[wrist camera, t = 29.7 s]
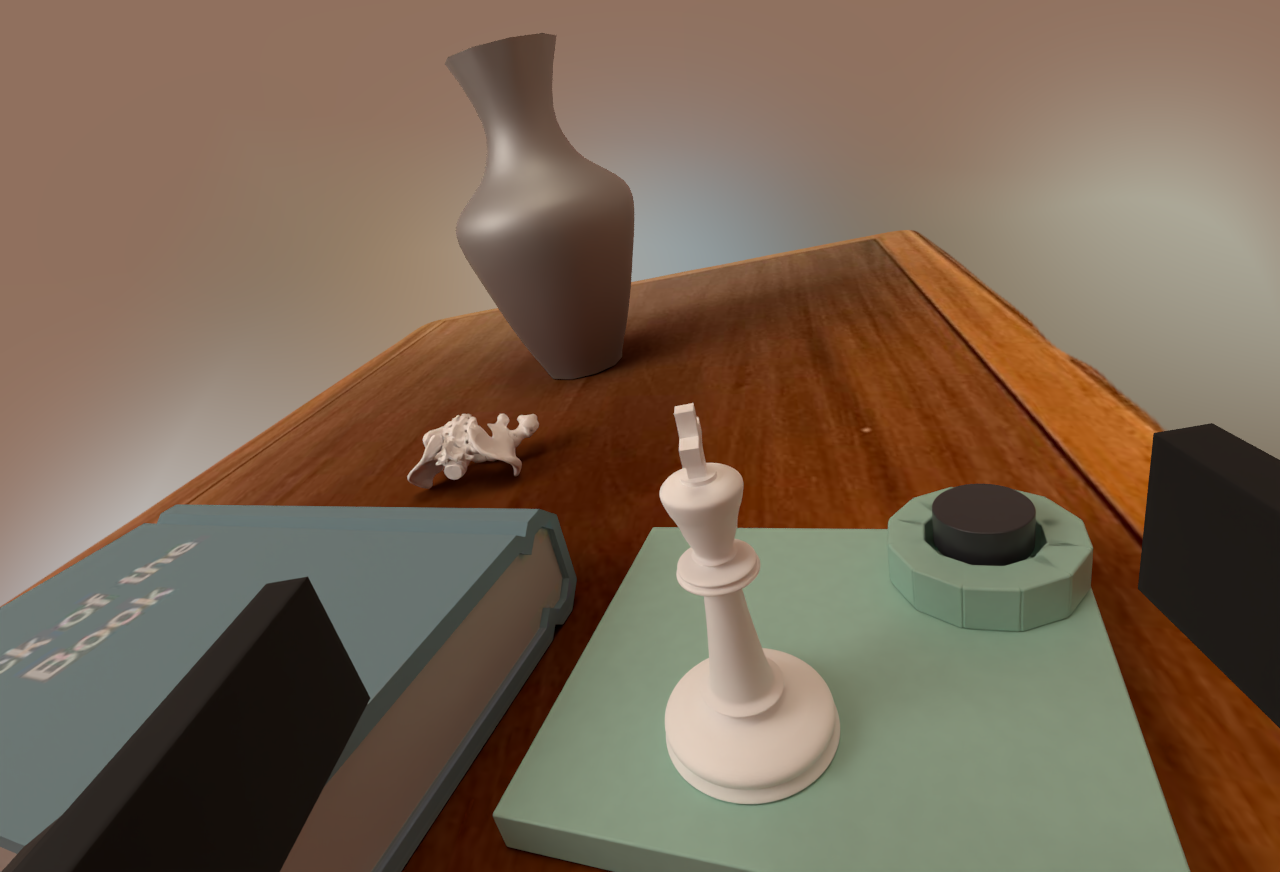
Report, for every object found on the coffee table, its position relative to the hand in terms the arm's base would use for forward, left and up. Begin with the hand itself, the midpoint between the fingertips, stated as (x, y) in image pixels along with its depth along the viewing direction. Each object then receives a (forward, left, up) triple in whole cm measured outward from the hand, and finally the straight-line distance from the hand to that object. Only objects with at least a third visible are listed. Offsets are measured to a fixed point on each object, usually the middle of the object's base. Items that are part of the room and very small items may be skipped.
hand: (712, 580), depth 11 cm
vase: (+24, -42, -11) cm, 50 cm away
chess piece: (+2, -5, -9) cm, 11 cm away
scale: (0, -8, -11) cm, 13 cm away
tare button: (-5, -12, -8) cm, 15 cm away
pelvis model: (+23, -23, -11) cm, 34 cm away
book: (+22, -4, -11) cm, 25 cm away
